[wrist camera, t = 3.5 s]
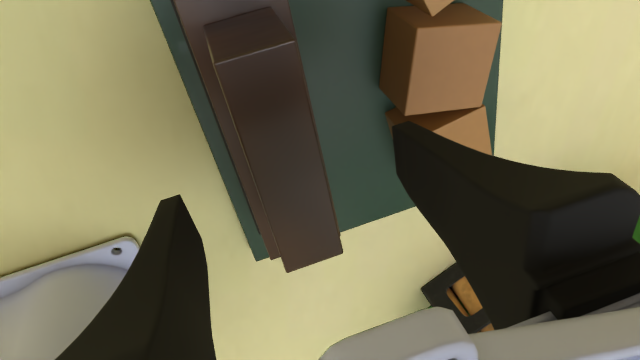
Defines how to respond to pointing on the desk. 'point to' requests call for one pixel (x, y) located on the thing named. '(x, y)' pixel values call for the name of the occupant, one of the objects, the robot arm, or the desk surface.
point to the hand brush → (265, 121)
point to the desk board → (333, 105)
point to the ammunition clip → (446, 296)
